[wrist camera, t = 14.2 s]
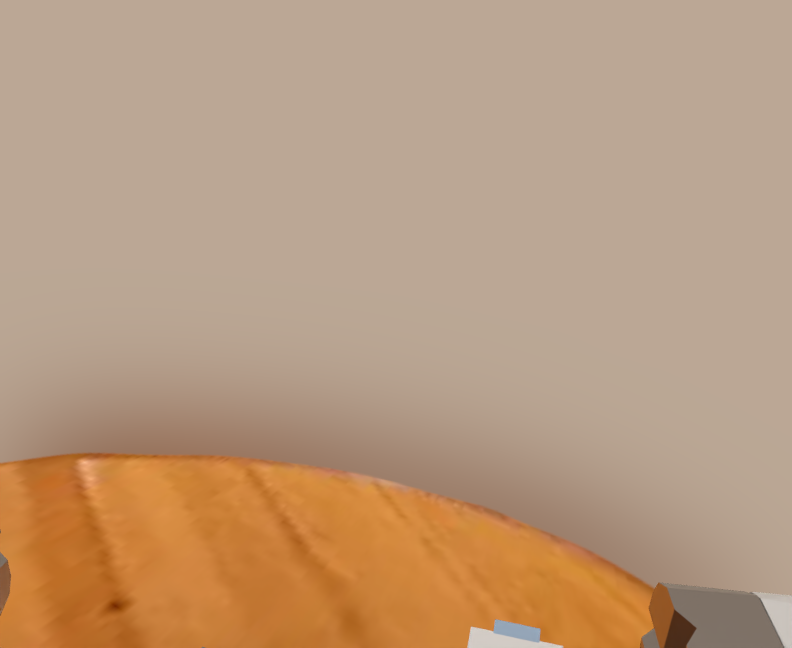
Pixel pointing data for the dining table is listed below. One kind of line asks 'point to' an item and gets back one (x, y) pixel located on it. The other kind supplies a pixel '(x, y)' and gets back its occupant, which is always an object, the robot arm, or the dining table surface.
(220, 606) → the dining table surface
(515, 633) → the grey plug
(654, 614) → the robot arm
